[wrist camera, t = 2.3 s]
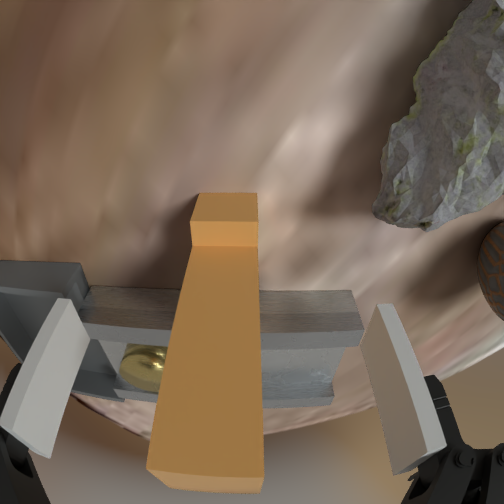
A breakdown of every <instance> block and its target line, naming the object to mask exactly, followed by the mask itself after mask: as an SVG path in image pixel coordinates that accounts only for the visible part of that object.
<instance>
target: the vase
mask: <svg viewBox="0 0 504 504" xmlns="http://www.w3.org/2000/svg"><path fill="white" fill-rule="evenodd" d="M477 273H478V279H479V283H480V287H481V290H482V292H483V295H484V297H485V299H486V301H487V302H488V304H489V305H490V307H491V308H492V310H493V311H494V312H495V313H496V315H497V316H498V317H500V318H501V319H502V320H503V321H504V222H503V223H500V224H498V225H497V226H495V227H494V228H493V229H492V230H491V231H490V232H489V233H488V234H487V236H486V237H485V239H484V241H483V243H482V245H481V248H480V251H479V256H478V262H477Z"/></svg>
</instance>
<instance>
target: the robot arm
mask: <svg viewBox="0 0 504 504" xmlns="http://www.w3.org/2000/svg"><path fill="white" fill-rule="evenodd" d="M89 342H90V338H89V336H88V334H87V332H86V330H85V328H84V326H83V324H82V322H81V320H80V318H79V316H78V314H77V312H76V309H75V307H74V305H73V303H72V301H71V299H63V298H58V299H57V300H56V302H55V304H54V306H53V307H52V309H51V311H50V313H49V314H48V316H47V318H46V320H45V322H44V323H43V325H42V327H41V329H40V331H39V333H38V335H37V337H36V338H35V340H34V342H33V344H32V346H31V348H30V350H29V352H28V354H27V356H26V359H25V361H24V363H23V364H20V363H18V364H17V365H16V366H15V367H14V368H13V369H12V370H11V372H10V374H9V376H8V378H7V380H6V384H5V385H4V387H3V391H2V392H1V395H0V504H51V503H50V501H49V499H48V497H47V495H46V493H45V490H44V488H43V486H42V484H41V481H40V479H39V477H38V474H37V471H36V469H35V466H34V464H33V461H32V458H31V456H30V454H29V453H28V449H29V448H30V449H31V450H32V451H34V452H35V453H37V454H39V455H42V456H44V457H47V458H50V457H51V453H52V450H53V446H54V443H55V439H56V436H57V432H58V429H59V426H60V422H61V419H62V416H63V413H64V409H65V407H66V404H67V401H68V398H69V395H70V392H71V389H72V386H73V384H74V381H75V378H76V375H77V373H78V370H79V367H80V365H81V362H82V359H83V357H84V354H85V352H86V349H87V347H88V344H89ZM360 346H361V350H362V353H363V356H364V360H365V363H366V367H367V370H368V374H369V377H370V381H371V385H372V388H373V392H374V396H375V399H376V403H377V407H378V411H379V414H380V419H381V423H382V427H383V431H384V436H385V440H386V444H387V449H388V453H389V457H390V462H391V467H392V472H393V475H397V474H401V473H405V472H408V471H411V470H413V469H414V468H416V467H417V466H418V472H416V473H415V474H413V475H412V476H410V478H409V479H408V481H411V480H412V479H414V480H413V482H412V484H411V486H410V488H409V490H408V491H407V493H406V495H405V497H404V499H403V500H402V502H401V504H504V443H500V444H499V445H498V446H496V447H495V448H494V449H473V448H472V447H470V446H469V445H467V444H465V443H464V442H463V440H462V438H461V435H460V432H459V429H458V426H457V423H456V420H455V417H454V414H453V412H452V409H451V407H450V403H449V401H448V398H446V396H447V395H446V393H445V390H444V388H443V385H442V383H441V382H440V381H439V380H438V379H437V378H436V376H435V375H430V376H425V377H423V374H422V371H421V369H420V366H419V364H418V361H417V359H416V356H415V354H414V351H413V349H412V346H411V344H410V342H409V339H408V337H407V335H406V332H405V330H404V328H403V325H402V323H401V321H400V319H399V316H398V314H397V312H396V310H395V308H394V306H393V304H377V305H376V308H375V311H374V313H373V316H372V318H371V321H370V323H369V326H368V328H367V331H366V333H365V336H364V338H363V341H362V343H361V345H360Z"/></svg>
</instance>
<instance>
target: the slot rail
mask: <svg viewBox="0 0 504 504" xmlns="http://www.w3.org/2000/svg"><path fill="white" fill-rule="evenodd" d="M180 293H181V290H176V289H149V288H126V287H107V286H91V288H90V290H89V292H88V294H87V296H86V298H85V300H84V302H83V303H82V305H81V307H80V309H79V311H78V313H77V314H78V316H79V318H80V320H81V322H82V324H83V326H84V328H85V330H86V332H87V334H88V336H89V338H90V339H97V340H99V342H100V344H101V346H102V348H103V350H104V352H105V353H106V355H107V357H108V359H109V361H110V363H111V364H112V366H113V368H114V370H115V371H116V373H117V376H116V380H115V383H114V387H113V389H114V391H115V392H116V394H117V395H118V397H120V398H126V399H132V400H139V401H147V402H155V403H157V399H158V394H159V392H153V391H147V390H143V389H140V388H137V387H135V386H133V385H131V384H130V383H128V382H127V381H125V380H124V379H123V378H122V376H121V375H120V373H119V368H120V365H121V362H122V358H123V355H124V352H125V349H126V346H127V344H128V343H132V344H143V345H154V346H167V347H168V345H169V340H170V336H171V331H172V327H173V323H174V318H175V314H176V310H177V305H178V301H179V297H180ZM259 305H260V337H261V371H262V407H263V408H292V407H310V406H324V405H330V404H331V402H332V400H333V398H334V391H333V386H332V379H333V377H334V374H335V372H336V370H337V367H338V365H339V362H340V360H341V358H342V355H343V353H344V350H345V347H352V346H358V344H359V342H360V340H361V337H362V335H363V333H364V330H365V329H364V326H363V323H362V320H361V317H360V314H359V311H358V308H357V305H356V302H355V299H354V297H353V294H352V291H351V290H348V291H259Z"/></svg>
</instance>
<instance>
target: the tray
mask: <svg viewBox="0 0 504 504" xmlns="http://www.w3.org/2000/svg"><path fill="white" fill-rule="evenodd" d="M89 290H90V288H89V286H88V283H87V281H86V278H85V275H84V273H83V270H82V267H81V264H80V263H61V262H33V261H8V260H0V335H1V336H2V338H3V339H4V341H5V342H6V343H7V345H8V346H9V348H10V349H11V350H12V352H13V353H14V354H15V356H16V357H17V358H18V359H19V361H20V362H21V363H22V364H23V363H24V361H25V359H26V356H27V354H28V352H29V350H30V348H31V346H32V344H33V342H34V340H35V338H36V337H37V335H38V333H39V331H40V329H41V327H42V325H43V323H44V322H45V320H46V318H47V316H48V314H49V313H50V311H51V309H52V307H53V306H54V304H55V302H56V300H57V299H58V298H63V299H71V301H72V303H73V305H74V307H75V309H76V312H77V313H78V311H79V309H80V307H81V305H82V303H83V302H84V300H85V298H86V296H87V294H88V292H89ZM116 376H117V373H116V371H115V370H114V368H113V366H112V364H111V363H110V361H109V359H108V357H107V355H106V353H105V352H104V350H103V348H102V346H101V344H100V342H99V340H97V339H90V342H89V344H88V347H87V349H86V352H85V354H84V357H83V359H82V362H81V365H80V367H79V370H78V373H77V375H76V378H75V381H74V384H73V386H72V389H71V392H74V393H78V394H83V395H87V396H92V397H97V398H102V399H107V400H113V401H119V402H124V400H125V398H120V397H118V395H117V394H116V392H115V391H114V389H113V387H114V383H115V380H116Z"/></svg>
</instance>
